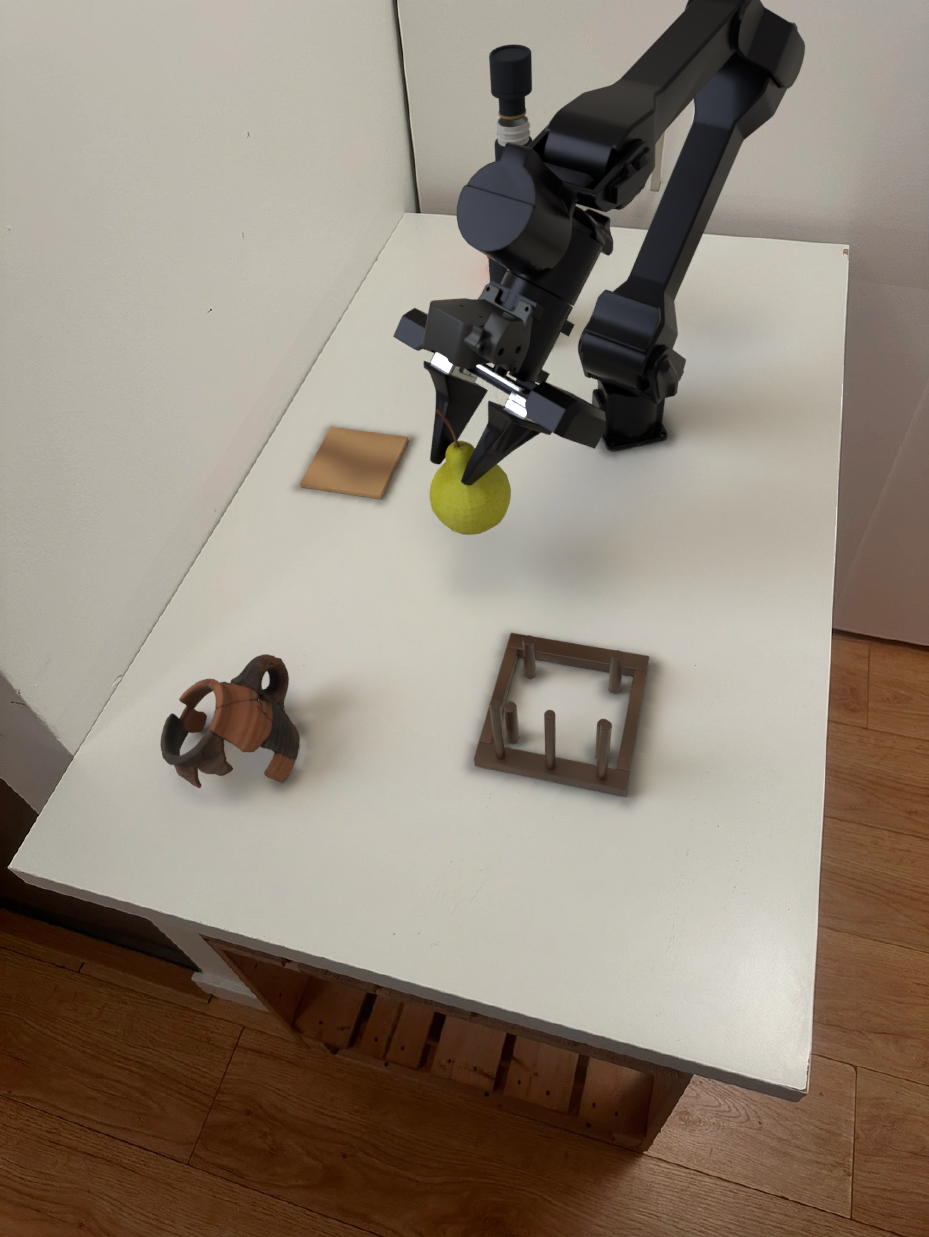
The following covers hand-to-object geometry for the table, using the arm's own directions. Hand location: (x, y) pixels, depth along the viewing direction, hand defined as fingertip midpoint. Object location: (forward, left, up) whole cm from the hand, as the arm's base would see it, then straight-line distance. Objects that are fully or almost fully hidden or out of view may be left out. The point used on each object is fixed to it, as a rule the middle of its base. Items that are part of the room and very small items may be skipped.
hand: (449, 473), depth 70 cm
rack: (-5, +17, -13) cm, 22 cm away
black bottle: (-14, -34, -13) cm, 40 cm away
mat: (+8, -18, -13) cm, 24 cm away
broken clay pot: (+21, +12, -13) cm, 28 cm away
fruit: (-2, 0, -7) cm, 7 cm away
